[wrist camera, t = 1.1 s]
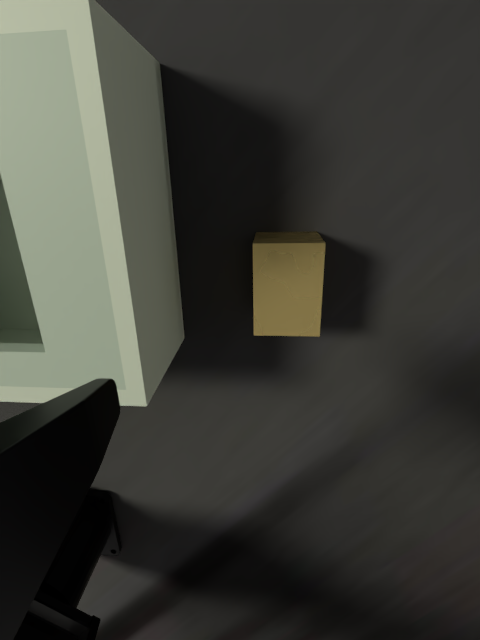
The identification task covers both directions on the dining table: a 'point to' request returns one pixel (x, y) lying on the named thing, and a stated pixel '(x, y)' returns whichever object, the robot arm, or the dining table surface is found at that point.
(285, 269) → the khaki wooden block
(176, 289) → the open box
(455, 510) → the dining table surface
